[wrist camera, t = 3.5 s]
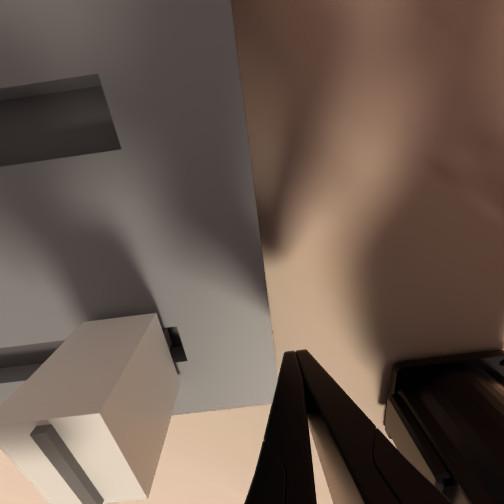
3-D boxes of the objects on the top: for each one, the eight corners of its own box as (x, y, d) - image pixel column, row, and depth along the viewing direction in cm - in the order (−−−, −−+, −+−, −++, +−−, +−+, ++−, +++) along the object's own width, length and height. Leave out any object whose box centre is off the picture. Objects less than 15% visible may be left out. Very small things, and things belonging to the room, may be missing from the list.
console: (221, -65, 7) (212, -146, 5) (276, 370, 14) (281, 405, 12) (-388, 37, 8) (-601, -3, 6) (-51, 408, 15) (-96, 447, 13)
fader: (164, 298, 10) (94, 421, 6) (185, 365, 12) (145, 507, 7) (97, 307, 11) (-27, 435, 6) (127, 372, 12) (48, 518, 7)
